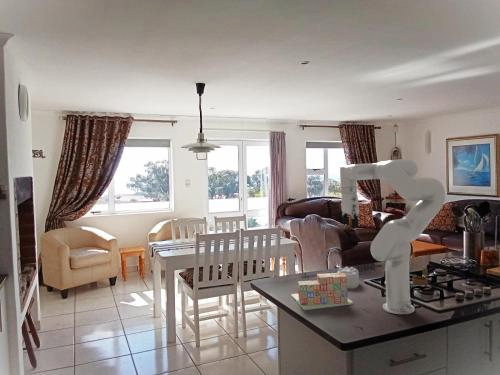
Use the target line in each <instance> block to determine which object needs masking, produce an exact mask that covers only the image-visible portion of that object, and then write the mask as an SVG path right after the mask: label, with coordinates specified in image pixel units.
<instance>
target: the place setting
mask: <svg viewBox="0 0 500 375" xmlns="http://www.w3.org/2000/svg"><path fill="white" fill-rule="evenodd" d="M421 271H422V274H423V275H424V276H426V277H424V276H421V275H420V276H419V275H417V276H413V277H412V278H411V279H412V281H413V284H412V285H413V286H415V285H426V286H428V285H427V284H428V282H429V281H428V277H427V274H428V268H422V270H421Z"/></svg>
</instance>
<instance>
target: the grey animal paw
mask: <svg viewBox="0 0 500 375" xmlns="http://www.w3.org/2000/svg"><path fill="white" fill-rule="evenodd" d="M336 273H344V274H345V275H346V276H347V289H355V288H358V286H360V280H359V278H360V277H359V270H358V269H357V268H355V267H353V266H350V267H349V266H345V267H344V268H342V267H339V268H338V270H337V272H336Z"/></svg>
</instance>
